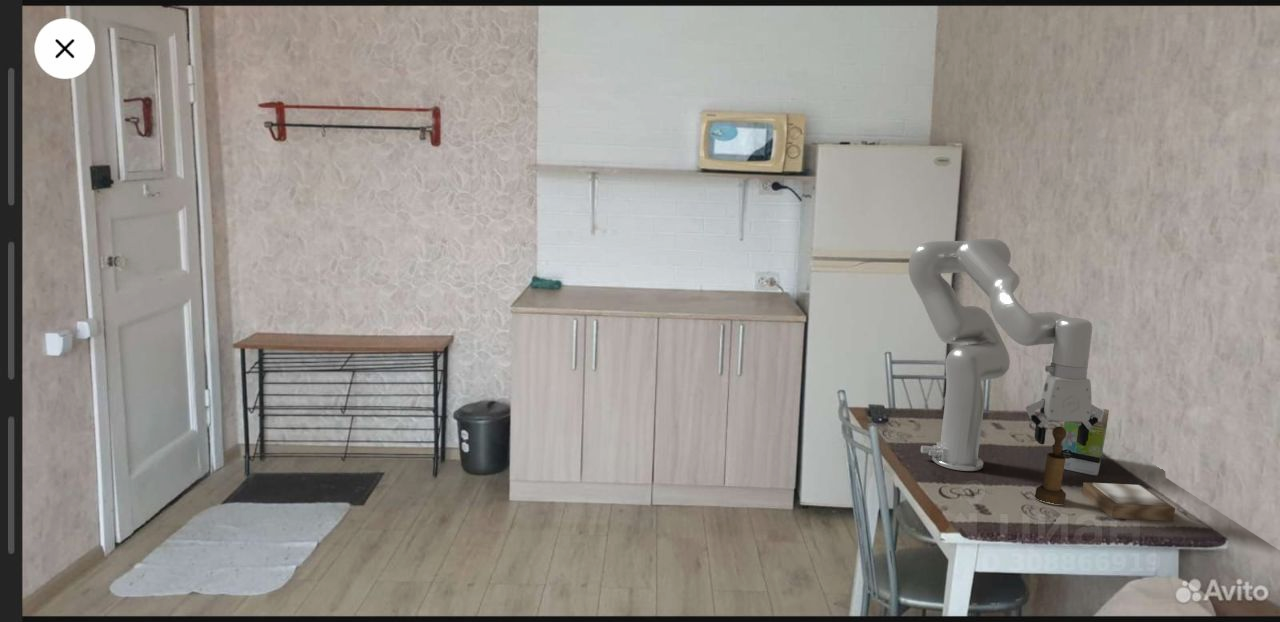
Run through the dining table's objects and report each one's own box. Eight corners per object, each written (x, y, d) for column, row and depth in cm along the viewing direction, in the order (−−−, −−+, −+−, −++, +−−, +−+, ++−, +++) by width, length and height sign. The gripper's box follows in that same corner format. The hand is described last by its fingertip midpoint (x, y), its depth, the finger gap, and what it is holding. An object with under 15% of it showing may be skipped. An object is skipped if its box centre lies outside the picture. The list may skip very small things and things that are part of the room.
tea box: (1099, 477, 228) (1107, 421, 226) (1056, 468, 233) (1064, 414, 230) (1101, 460, 241) (1109, 408, 239) (1061, 452, 246) (1068, 401, 243)
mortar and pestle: (1069, 506, 207) (1080, 432, 204) (1041, 505, 207) (1052, 431, 204) (1057, 495, 214) (1067, 423, 210) (1030, 494, 214) (1040, 422, 211)
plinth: (1111, 517, 202) (1113, 502, 201) (1081, 494, 215) (1083, 480, 215) (1173, 520, 202) (1175, 505, 201) (1139, 497, 216) (1141, 482, 215)
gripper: (1038, 374, 201) (1030, 447, 204) (1114, 376, 201) (1105, 449, 204) (1024, 366, 208) (1016, 437, 211) (1098, 369, 208) (1089, 439, 211)
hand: (1060, 443), depth 207 cm, fingers open, 9 cm apart
